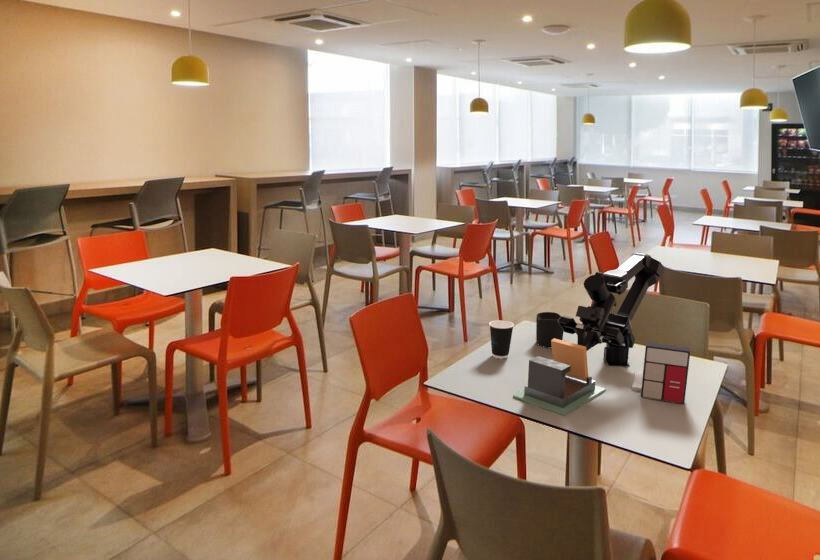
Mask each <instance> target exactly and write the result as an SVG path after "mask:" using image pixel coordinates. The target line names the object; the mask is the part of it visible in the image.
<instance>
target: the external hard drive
mask: <svg viewBox="0 0 820 560" xmlns="http://www.w3.org/2000/svg"><path fill="white" fill-rule="evenodd" d="M634 373H635V374H634V378H633V382H632V386H631V390H632V391H634V392H635V391H636V392H641V389H642V379H643V371H642V372H640V371H635V372H634Z"/></svg>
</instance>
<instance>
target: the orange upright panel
mask: <svg viewBox="0 0 820 560" xmlns="http://www.w3.org/2000/svg"><path fill="white" fill-rule="evenodd" d="M551 346H552V348H551V354H552V360H553V361H557V362H560V363H563V364H567V365H570V366H571V370H570V371H569V372H568V373H566V374H565V376H569V377H572V378H575V379H578V380H582V381H585V382H587V378H588V377H589V370H588V369H589V367H588V356H587V355H588V354H587V352H588V351H586V347H585V346H581V345H578V344H576V343H573V342H570V341H566V340H559V339H555V338H554V339H552V340H551Z"/></svg>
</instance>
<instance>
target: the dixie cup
mask: <svg viewBox="0 0 820 560" xmlns="http://www.w3.org/2000/svg"><path fill="white" fill-rule="evenodd" d="M488 325H489V332H490V343H491V354H492V357H493V358H494V357H495V358H494V359H497V358H499V360H504V359H503V358H505V359H507V358H509V357H508V356H509V354H510V348H511V342H512V338H513V337H512V335H513V329H514V327H515V324H514V322H512V321H510V320H509V321H508V320H498V319H497V320H492V321H489V323H488Z"/></svg>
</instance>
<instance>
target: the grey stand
mask: <svg viewBox="0 0 820 560" xmlns="http://www.w3.org/2000/svg"><path fill="white" fill-rule="evenodd" d="M570 370H571V366H570V365H567V364H563V363H560V362H557V361H553V359H550V358H546V357H543V356H538V355H537V356H536V357H534V358H531V359H529V360H528V373H527V375H528V376H527V384H526V385H524V387H523V388H524V389H523V390H524V395H526V396H529V397H532V398H535V399H538V400H541V401H544V402H546V403H549V404H552V405H555V406H558V407H561V408H564V407H566V406H567V405H569V404H571V403H572V402H574V401H576V400H578V399H579V398H581V397H583V396H584V395H586V394H588V393H589V392H591V391H593V390H595V386H596V380H594V379H593V377H592V376H588V378H587V382H585V381H582V380H578V379H575V378H572V377H569V376H565V374H566V373H568V372H569V371H570Z"/></svg>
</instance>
